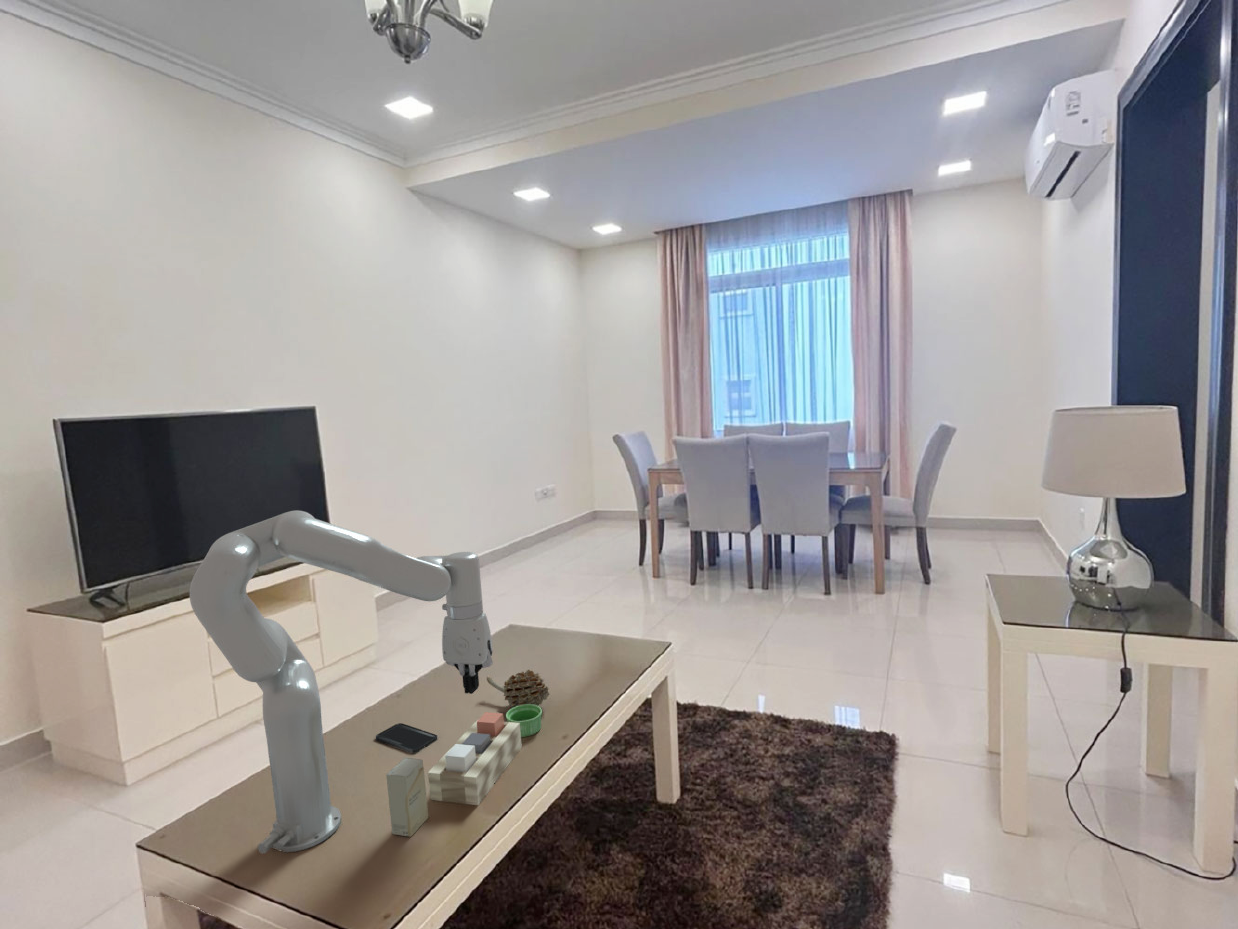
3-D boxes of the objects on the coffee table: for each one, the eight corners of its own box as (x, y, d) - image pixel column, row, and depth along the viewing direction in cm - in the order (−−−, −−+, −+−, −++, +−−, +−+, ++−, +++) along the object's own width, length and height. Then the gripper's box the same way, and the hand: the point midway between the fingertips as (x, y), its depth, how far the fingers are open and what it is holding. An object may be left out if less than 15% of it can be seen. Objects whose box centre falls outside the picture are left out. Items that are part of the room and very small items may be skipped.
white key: (466, 782, 131) (464, 757, 130) (447, 780, 132) (444, 755, 131) (476, 770, 135) (474, 745, 134) (458, 768, 136) (455, 743, 136)
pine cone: (559, 703, 170) (556, 668, 169) (538, 720, 162) (535, 683, 161) (495, 689, 181) (492, 656, 180) (472, 704, 173) (469, 670, 172)
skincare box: (410, 838, 120) (404, 777, 119) (390, 834, 121) (384, 775, 120) (429, 816, 126) (424, 759, 125) (410, 813, 127) (404, 756, 126)
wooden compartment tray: (478, 805, 128) (475, 777, 128) (430, 799, 131) (427, 772, 131) (521, 747, 150) (519, 722, 149) (479, 743, 152) (477, 719, 152)
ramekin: (521, 742, 152) (520, 725, 151) (499, 731, 158) (498, 714, 157) (550, 727, 158) (549, 710, 158) (528, 716, 164) (527, 700, 164)
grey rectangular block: (482, 769, 137) (480, 745, 137) (464, 767, 139) (462, 743, 138) (491, 757, 142) (490, 734, 141) (473, 755, 143) (471, 732, 142)
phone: (399, 722, 164) (439, 735, 156) (399, 726, 164) (439, 740, 156) (373, 736, 157) (413, 751, 149) (373, 741, 157) (413, 756, 149)
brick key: (496, 746, 144) (494, 723, 144) (478, 744, 145) (476, 721, 145) (504, 735, 148) (503, 713, 148) (487, 734, 150) (485, 712, 149)
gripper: (425, 614, 135) (432, 696, 137) (488, 616, 131) (495, 701, 133) (443, 603, 142) (449, 681, 144) (504, 605, 139) (510, 685, 140)
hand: (471, 690), depth 139 cm, fingers closed
